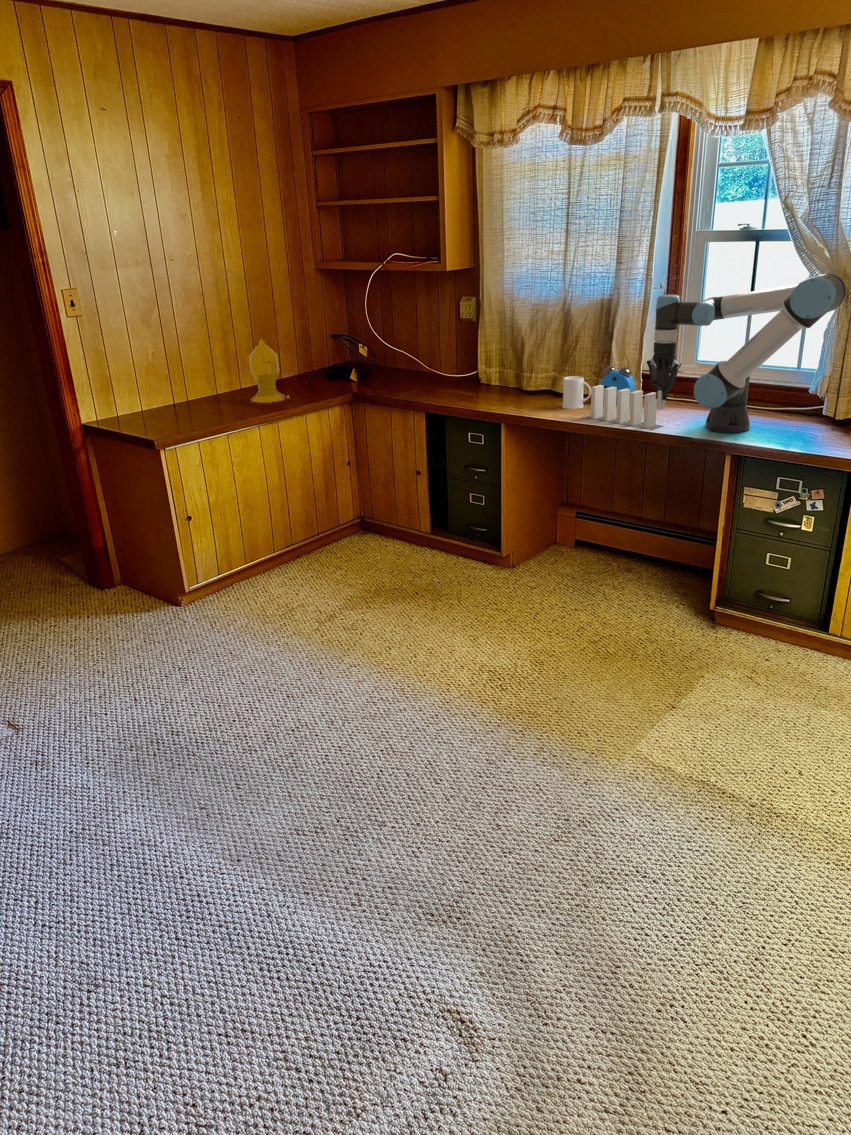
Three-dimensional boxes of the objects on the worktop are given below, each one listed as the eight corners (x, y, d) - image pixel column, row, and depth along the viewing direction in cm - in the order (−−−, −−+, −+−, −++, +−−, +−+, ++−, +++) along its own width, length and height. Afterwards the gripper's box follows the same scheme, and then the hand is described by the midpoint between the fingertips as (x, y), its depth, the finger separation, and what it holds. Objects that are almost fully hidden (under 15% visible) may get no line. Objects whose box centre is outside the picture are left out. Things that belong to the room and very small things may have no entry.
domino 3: (628, 420, 317) (630, 389, 312) (620, 423, 314) (621, 391, 309) (624, 420, 318) (626, 388, 314) (616, 422, 315) (617, 390, 310)
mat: (664, 427, 307) (664, 425, 307) (652, 431, 303) (652, 430, 302) (594, 415, 330) (594, 414, 330) (581, 418, 325) (581, 417, 325)
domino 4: (641, 423, 313) (642, 390, 308) (633, 425, 310) (634, 393, 305) (637, 422, 314) (638, 390, 309) (629, 425, 311) (630, 392, 306)
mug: (594, 407, 343) (595, 377, 338) (584, 411, 337) (585, 381, 332) (568, 404, 350) (569, 375, 345) (558, 408, 343) (559, 379, 339)
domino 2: (615, 418, 321) (616, 387, 316) (606, 421, 318) (608, 389, 313) (611, 417, 322) (612, 386, 318) (603, 420, 319) (604, 388, 315)
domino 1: (602, 416, 325) (603, 385, 321) (594, 418, 322) (595, 387, 318) (598, 415, 327) (599, 384, 322) (590, 418, 324) (591, 387, 319)
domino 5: (655, 425, 309) (657, 392, 304) (647, 428, 305) (649, 395, 301) (651, 424, 310) (653, 392, 305) (642, 427, 307) (644, 394, 302)
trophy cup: (289, 395, 396) (283, 334, 385) (289, 406, 374) (281, 341, 363) (252, 398, 394) (244, 337, 383) (249, 409, 372) (240, 344, 361)
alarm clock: (634, 403, 346) (636, 366, 340) (628, 406, 341) (630, 369, 335) (604, 400, 353) (606, 364, 347) (598, 403, 348) (599, 367, 343)
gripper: (687, 341, 290) (682, 409, 299) (655, 338, 299) (651, 404, 309) (675, 344, 286) (670, 412, 295) (643, 341, 295) (639, 407, 304)
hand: (660, 408), depth 302 cm, fingers closed
